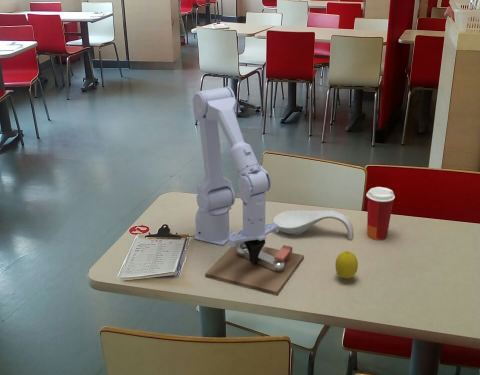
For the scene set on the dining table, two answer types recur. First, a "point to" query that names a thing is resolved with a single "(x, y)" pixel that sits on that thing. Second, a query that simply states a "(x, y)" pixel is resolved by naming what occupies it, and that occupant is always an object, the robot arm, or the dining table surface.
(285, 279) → the board
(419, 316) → the dining table surface
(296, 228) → the spoon rest
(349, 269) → the lemon
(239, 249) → the link
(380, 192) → the paper cup
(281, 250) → the keeper
